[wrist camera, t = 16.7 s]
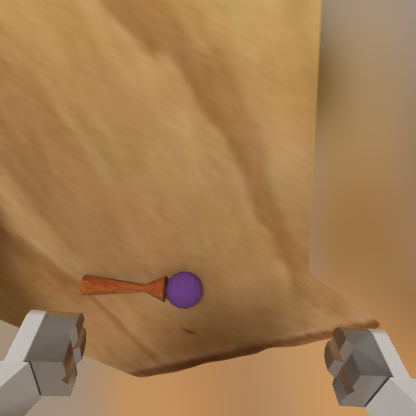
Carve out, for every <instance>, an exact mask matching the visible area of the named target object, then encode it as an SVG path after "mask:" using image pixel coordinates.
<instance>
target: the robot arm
mask: <svg viewBox="0 0 416 416" xmlns="http://www.w3.org/2000/svg"><path fill="white" fill-rule="evenodd" d="M83 323H84V315H83V313H73V312H59V311H47V310H30V312H29V313H28V314H27V315H26V317H25V319H24V321H23V323H22V325H21V327H20V329H19V331H18V333H17V334H16V337H15V338H14V340H13V342H12V344H11V346H10V348H9V351H8V352H7V354H6V356H5V358H4V360H3V361H0V416H24V415H25V414H26V413H27V412H28V411H29V410H30V409H31V408H32V407H33V406H34V405H35V403H36V402H37V401H38V400H39V399H40V398H41V397H40V396H71V393H72V389H73V386H74V383H75V380H76V376H77V369H76V364H77V363H78V362H80V361H81V360H82V357H83V353H84V350H85V344H86V329H85V328H84V327H83ZM332 334H333V337H334V338H333V339H331V340H330V341H328V342H327V345H326V347H325V354H324V357H325V363H326V366H327V370H328V371H329V372H330V373H331V374H332V375H333V376H334V377H335V378H334V381H333V383H332V385H333V388H334V391H335V394H336V397H337V400H338V403H339V405H340V406H357V407H365V410H366V411H367V412H368V413H369V414H370V416H416V379H414V378H410V376H409V374H408V373H407V371H406V369H405V367H404V365H403V363H402V361H401V359H400V358H399V356H398V354H397V352H396V350H395V349H394V346H393V345H392V343H391V341H390V339H389V337H388V336H387V334H386V332H385V331H384V330H381V329H366V328H348V327H338V328H336V329H335V330H334V331H333V333H332Z"/></svg>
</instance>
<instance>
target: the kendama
mask: <svg viewBox="0 0 416 416" xmlns="http://www.w3.org/2000/svg"><path fill="white" fill-rule="evenodd" d="M80 291H81V294H82V295H93V294H109V293H125V292H141V291H144V292H146V293H148V294H150V295H152V296H153V297H155V298H157V299H159V300H161V301H163V302H164V301H165V298H166V294H167V297H168V300H169V301H170V302H171V303H172V305H174V306H176V307H178V308H184V309H187V308H189V307H192V306H194V305H195V304H196V303H197V302H198V301H199V299H200V297H201V295H202V285H201V282H200V280H199V279H198V278H197V277H196V276H195V275H194V274H192V273H189V272H180V273H177V274H175V275H174V276H172V277H171V278H170V279H169V281H168V284H167V278H166V276H165V277H163V278H160V279H158V280H155V281H153V282H150V283H148V284H145V285H143V284H137V283H131V282H125V281H119V280H113V279H106V278H100V277H94V276H88V275H85V276H84V277H83V278H82V280H81V285H80Z"/></svg>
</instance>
